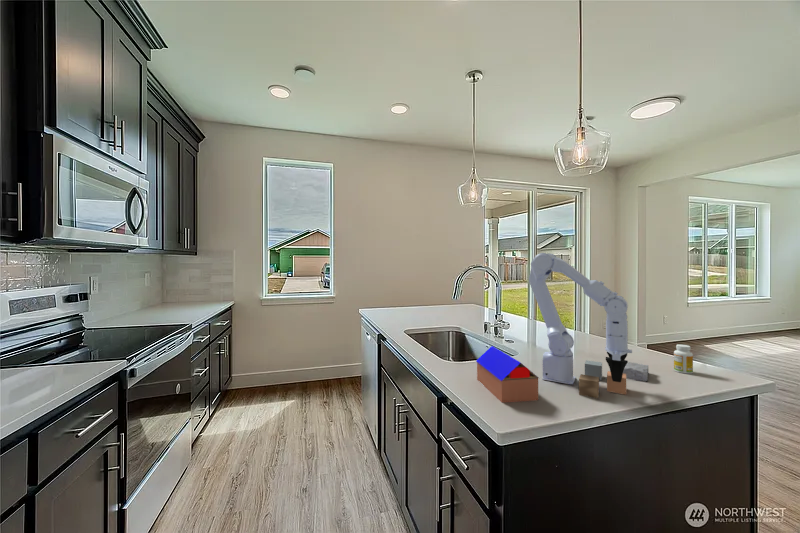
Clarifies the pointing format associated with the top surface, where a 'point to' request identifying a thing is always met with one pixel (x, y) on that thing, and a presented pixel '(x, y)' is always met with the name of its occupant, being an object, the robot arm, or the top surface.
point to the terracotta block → (616, 384)
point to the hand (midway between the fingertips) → (616, 377)
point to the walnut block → (589, 386)
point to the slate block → (593, 369)
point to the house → (506, 377)
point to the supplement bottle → (683, 359)
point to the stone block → (636, 371)
